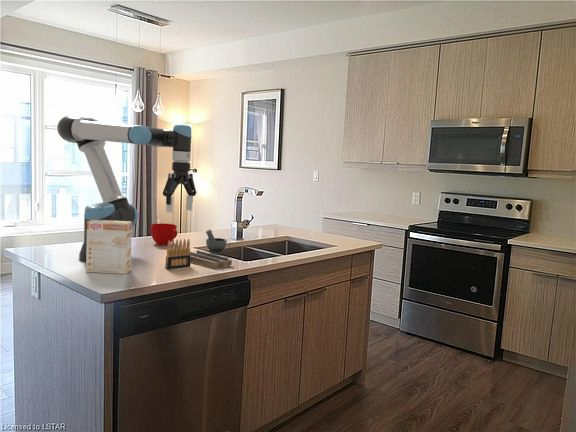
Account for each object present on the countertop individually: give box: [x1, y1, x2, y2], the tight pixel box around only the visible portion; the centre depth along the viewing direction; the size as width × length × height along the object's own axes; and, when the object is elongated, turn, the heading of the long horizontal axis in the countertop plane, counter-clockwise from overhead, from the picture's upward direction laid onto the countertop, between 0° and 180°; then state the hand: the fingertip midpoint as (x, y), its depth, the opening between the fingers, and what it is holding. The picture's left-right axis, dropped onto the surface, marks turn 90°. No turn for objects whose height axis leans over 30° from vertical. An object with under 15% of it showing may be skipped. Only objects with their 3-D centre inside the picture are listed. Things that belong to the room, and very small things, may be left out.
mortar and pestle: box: [205, 229, 228, 256], centre depth 225 cm, size 11×9×12 cm
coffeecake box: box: [85, 219, 133, 275], centre depth 177 cm, size 15×7×20 cm, turn 92°
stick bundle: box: [190, 249, 233, 270], centre depth 204 cm, size 10×20×4 cm, turn 51°
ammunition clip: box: [164, 238, 191, 270], centre depth 191 cm, size 11×2×12 cm, turn 133°
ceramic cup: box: [150, 222, 178, 246], centre depth 240 cm, size 13×17×10 cm
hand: (179, 211), depth 200 cm, fingers open, 13 cm apart
